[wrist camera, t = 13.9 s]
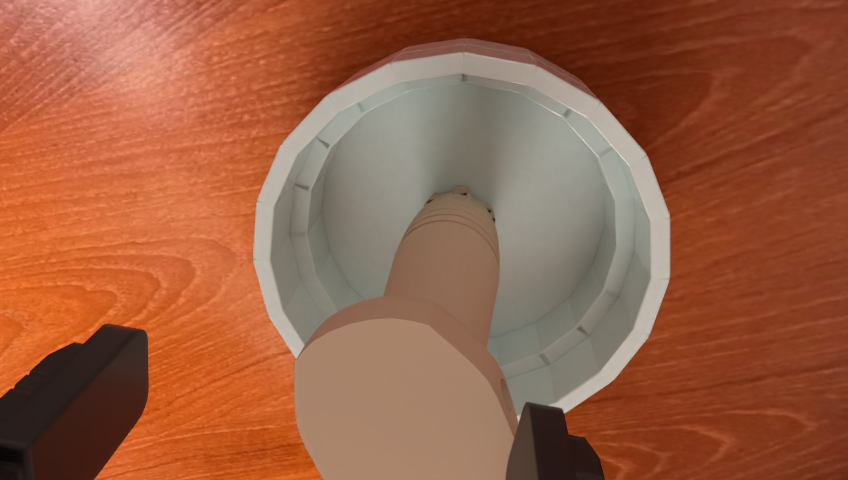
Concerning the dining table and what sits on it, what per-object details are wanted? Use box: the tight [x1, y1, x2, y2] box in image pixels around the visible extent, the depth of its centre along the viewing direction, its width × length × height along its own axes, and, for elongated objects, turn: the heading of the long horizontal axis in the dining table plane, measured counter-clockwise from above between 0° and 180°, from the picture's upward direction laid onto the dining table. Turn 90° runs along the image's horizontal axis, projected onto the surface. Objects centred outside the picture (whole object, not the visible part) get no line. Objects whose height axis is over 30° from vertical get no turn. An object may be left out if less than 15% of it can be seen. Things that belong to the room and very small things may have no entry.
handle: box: [294, 185, 518, 480], centre depth 21 cm, size 5×6×15 cm
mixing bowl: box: [253, 38, 670, 424], centre depth 26 cm, size 15×15×6 cm
